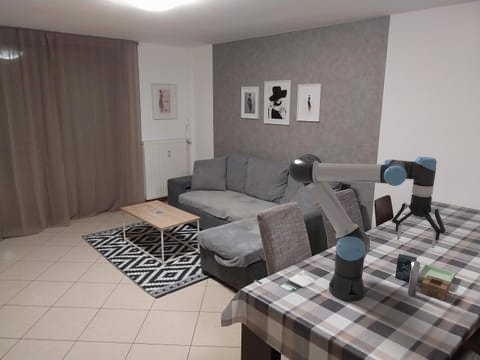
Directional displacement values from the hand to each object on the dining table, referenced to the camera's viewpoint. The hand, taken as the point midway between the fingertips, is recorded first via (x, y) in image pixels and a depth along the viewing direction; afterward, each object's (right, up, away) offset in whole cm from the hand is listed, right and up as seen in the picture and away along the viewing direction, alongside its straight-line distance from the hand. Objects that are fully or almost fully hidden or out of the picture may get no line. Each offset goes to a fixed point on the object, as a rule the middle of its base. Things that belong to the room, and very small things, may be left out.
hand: (415, 243), depth 147 cm
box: (+4, -20, +18) cm, 27 cm away
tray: (+18, -20, +17) cm, 32 cm away
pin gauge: (0, -23, +3) cm, 23 cm away
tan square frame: (+11, -23, +5) cm, 26 cm away
